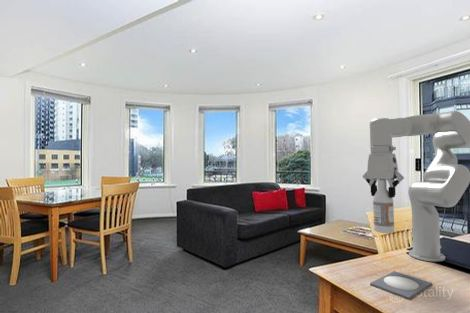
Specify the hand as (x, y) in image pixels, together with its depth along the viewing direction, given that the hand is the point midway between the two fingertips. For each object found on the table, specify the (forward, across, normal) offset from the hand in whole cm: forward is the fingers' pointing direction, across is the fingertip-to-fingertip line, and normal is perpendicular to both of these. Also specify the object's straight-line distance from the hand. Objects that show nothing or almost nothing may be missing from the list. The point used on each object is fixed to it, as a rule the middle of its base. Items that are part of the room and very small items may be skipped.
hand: (382, 196), depth 107 cm
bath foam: (+14, 0, 0) cm, 14 cm away
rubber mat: (+27, -11, +11) cm, 32 cm away
